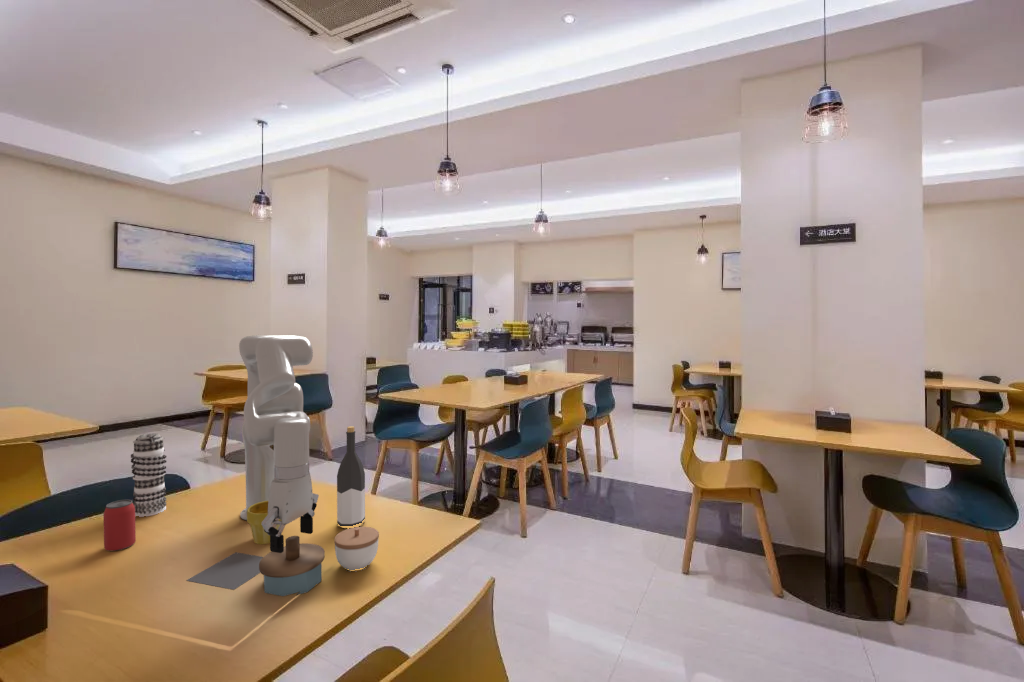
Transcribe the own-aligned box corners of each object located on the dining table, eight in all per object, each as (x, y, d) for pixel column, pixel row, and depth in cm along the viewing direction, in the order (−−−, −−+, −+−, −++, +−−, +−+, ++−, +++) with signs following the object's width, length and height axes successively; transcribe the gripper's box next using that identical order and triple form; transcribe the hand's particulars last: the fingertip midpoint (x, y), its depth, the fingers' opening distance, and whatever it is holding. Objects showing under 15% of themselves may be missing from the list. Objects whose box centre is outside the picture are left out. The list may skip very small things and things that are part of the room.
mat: (235, 554, 122) (235, 552, 122) (279, 561, 119) (279, 559, 119) (186, 582, 109) (186, 580, 109) (234, 592, 105) (234, 589, 105)
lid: (289, 544, 118) (289, 523, 118) (336, 551, 114) (336, 529, 114) (244, 572, 104) (244, 548, 104) (296, 581, 101) (296, 557, 101)
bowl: (290, 566, 117) (289, 546, 117) (331, 573, 114) (330, 553, 114) (251, 592, 105) (251, 570, 105) (296, 601, 102) (296, 578, 102)
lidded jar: (387, 558, 121) (387, 523, 121) (361, 580, 111) (361, 541, 110) (353, 552, 124) (353, 517, 124) (325, 572, 114) (324, 534, 114)
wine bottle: (364, 516, 147) (363, 423, 146) (365, 527, 140) (365, 428, 139) (337, 520, 144) (336, 425, 143) (337, 531, 137) (336, 430, 136)
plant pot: (296, 536, 133) (296, 503, 133) (264, 552, 124) (263, 516, 123) (271, 529, 138) (271, 497, 137) (238, 544, 128) (238, 509, 128)
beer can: (117, 553, 123) (116, 508, 122) (97, 550, 124) (96, 506, 124) (141, 542, 129) (141, 499, 129) (122, 539, 130) (121, 497, 130)
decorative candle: (128, 512, 149) (126, 435, 149) (163, 503, 156) (162, 430, 156) (135, 520, 143) (133, 440, 143) (171, 510, 151) (169, 434, 150)
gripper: (303, 458, 118) (304, 524, 119) (249, 481, 101) (249, 557, 102) (329, 461, 116) (329, 528, 117) (277, 484, 99) (278, 562, 100)
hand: (292, 541), depth 109 cm, fingers open, 9 cm apart
